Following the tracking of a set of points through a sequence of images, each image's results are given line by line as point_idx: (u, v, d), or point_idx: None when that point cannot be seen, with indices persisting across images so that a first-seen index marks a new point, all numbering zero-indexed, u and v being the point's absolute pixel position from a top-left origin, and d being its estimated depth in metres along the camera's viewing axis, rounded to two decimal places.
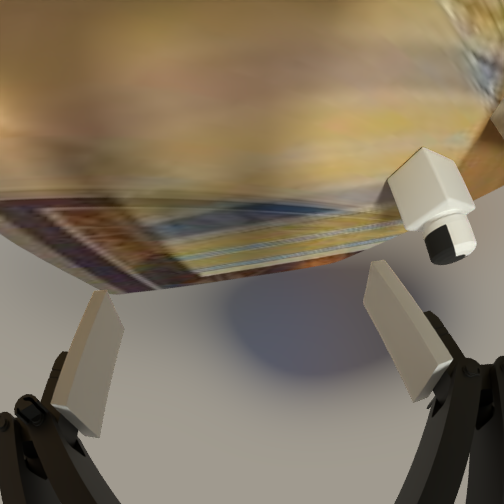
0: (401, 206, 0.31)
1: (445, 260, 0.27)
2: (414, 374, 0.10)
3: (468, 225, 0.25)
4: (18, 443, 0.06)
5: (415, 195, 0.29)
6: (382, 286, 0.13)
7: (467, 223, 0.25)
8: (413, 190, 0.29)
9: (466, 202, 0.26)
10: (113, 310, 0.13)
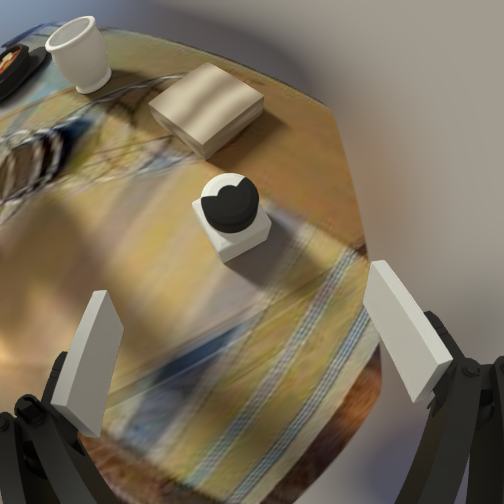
0: (216, 252, 0.36)
1: (218, 208, 0.29)
2: (414, 374, 0.10)
3: None
4: (18, 443, 0.06)
5: (207, 235, 0.37)
6: (382, 286, 0.13)
7: None
8: (208, 237, 0.37)
9: None
10: (113, 310, 0.13)
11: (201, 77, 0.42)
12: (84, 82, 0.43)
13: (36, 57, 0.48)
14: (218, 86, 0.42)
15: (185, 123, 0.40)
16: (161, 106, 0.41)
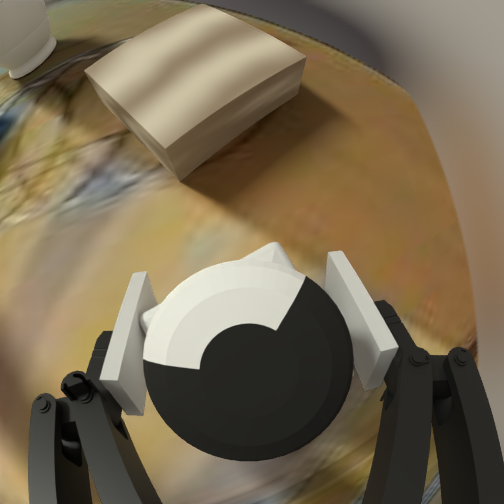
0: None
1: (208, 417, 0.07)
2: (363, 362, 0.11)
3: None
4: (57, 427, 0.07)
5: None
6: (336, 275, 0.14)
7: None
8: None
9: None
10: (151, 291, 0.15)
11: (186, 23, 0.20)
12: (11, 60, 0.21)
13: None
14: (215, 37, 0.19)
15: (138, 102, 0.17)
16: (104, 73, 0.18)
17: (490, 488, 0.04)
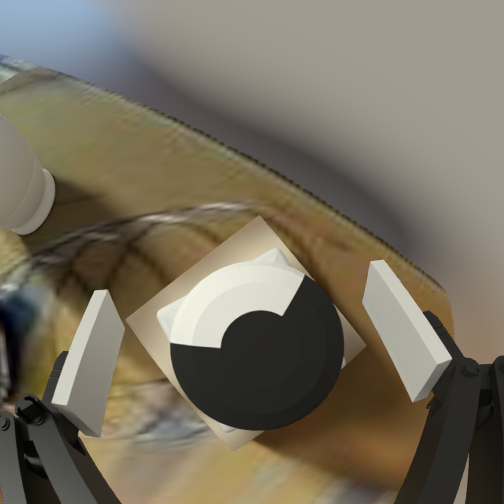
0: None
1: (226, 388, 0.09)
2: (413, 374, 0.10)
3: None
4: (19, 442, 0.06)
5: None
6: (381, 286, 0.13)
7: None
8: None
9: None
10: (114, 310, 0.14)
11: None
12: (7, 227, 0.23)
13: None
14: None
15: None
16: (152, 339, 0.20)
17: None
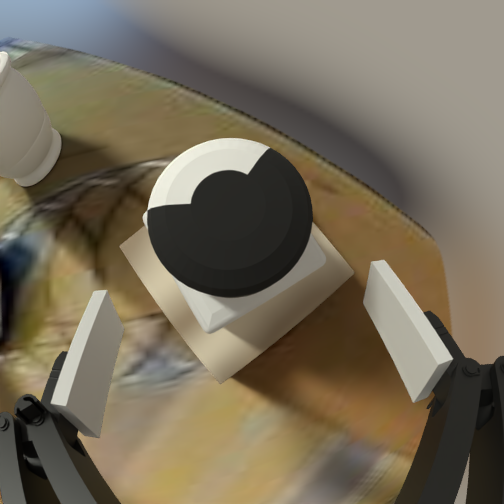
0: None
1: (195, 243, 0.10)
2: (414, 374, 0.10)
3: None
4: (18, 443, 0.06)
5: None
6: (382, 286, 0.13)
7: None
8: None
9: None
10: (113, 310, 0.13)
11: None
12: (14, 175, 0.24)
13: None
14: None
15: (189, 324, 0.21)
16: (144, 263, 0.22)
17: None
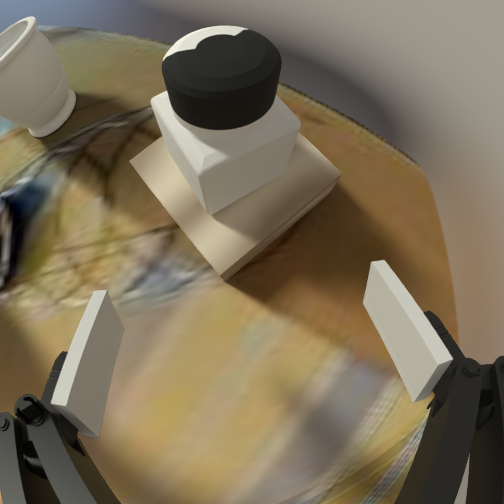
0: (196, 186, 0.18)
1: (197, 65, 0.11)
2: (414, 374, 0.10)
3: None
4: (18, 443, 0.06)
5: (179, 159, 0.19)
6: (382, 286, 0.13)
7: None
8: (181, 163, 0.19)
9: None
10: (113, 310, 0.13)
11: None
12: (32, 123, 0.26)
13: None
14: None
15: (191, 219, 0.23)
16: (151, 171, 0.23)
17: None
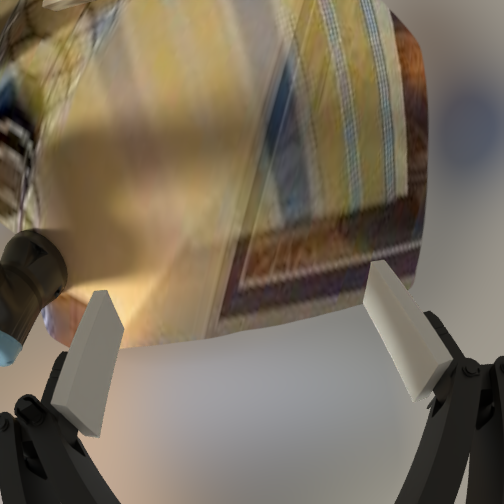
0: None
1: None
2: (414, 374, 0.10)
3: None
4: (18, 443, 0.06)
5: None
6: (382, 286, 0.13)
7: None
8: None
9: None
10: (113, 310, 0.13)
11: None
12: None
13: None
14: None
15: None
16: None
17: None
